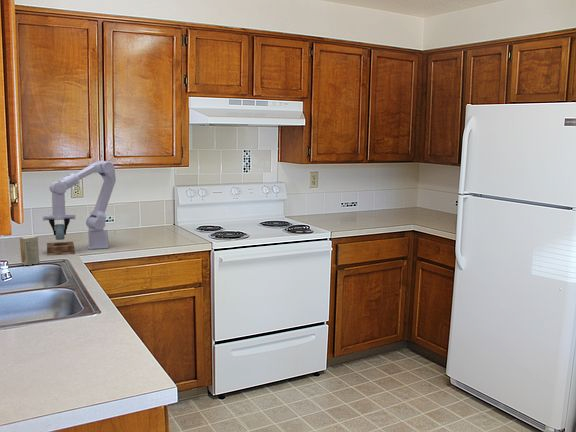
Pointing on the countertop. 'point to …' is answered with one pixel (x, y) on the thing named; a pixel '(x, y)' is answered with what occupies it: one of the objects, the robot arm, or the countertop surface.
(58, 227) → the peg
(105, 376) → the countertop surface
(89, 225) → the robot arm
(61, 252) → the walnut holder
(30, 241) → the skincare box
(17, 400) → the countertop surface
